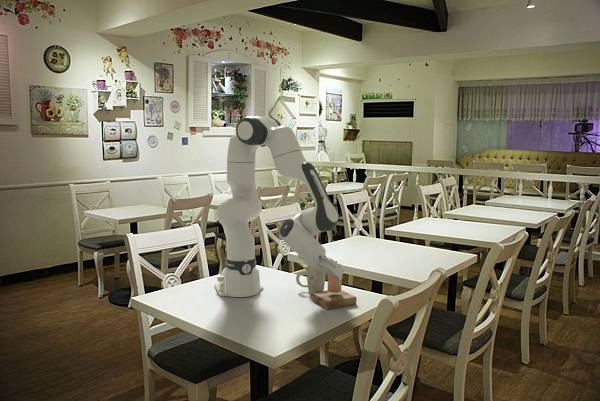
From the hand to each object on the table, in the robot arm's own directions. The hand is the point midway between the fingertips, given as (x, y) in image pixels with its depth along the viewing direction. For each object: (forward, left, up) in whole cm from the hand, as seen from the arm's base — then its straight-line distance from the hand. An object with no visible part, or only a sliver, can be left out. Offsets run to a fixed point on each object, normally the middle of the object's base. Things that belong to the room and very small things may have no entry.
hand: (335, 276), depth 189 cm
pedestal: (0, -1, -10) cm, 10 cm away
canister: (0, -1, -5) cm, 5 cm away
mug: (-16, -2, -10) cm, 19 cm away
